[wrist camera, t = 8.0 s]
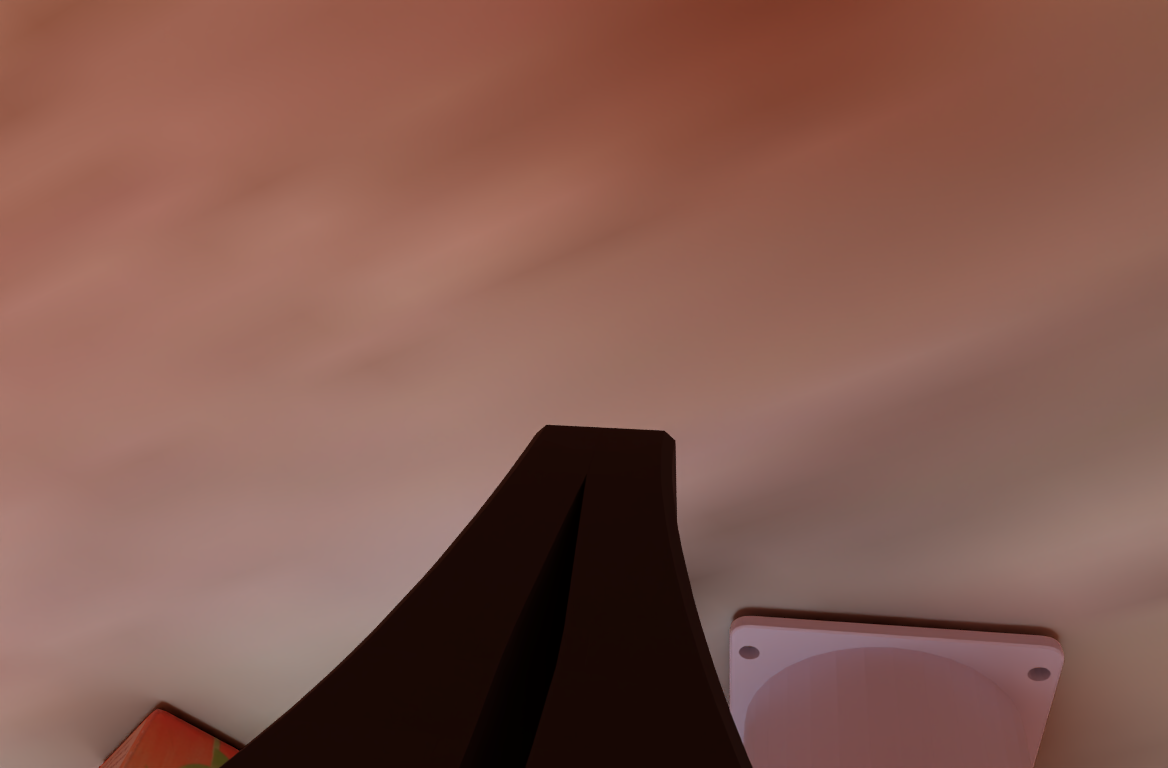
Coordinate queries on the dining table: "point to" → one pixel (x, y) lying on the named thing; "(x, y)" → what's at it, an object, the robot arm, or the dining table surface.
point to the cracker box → (169, 746)
